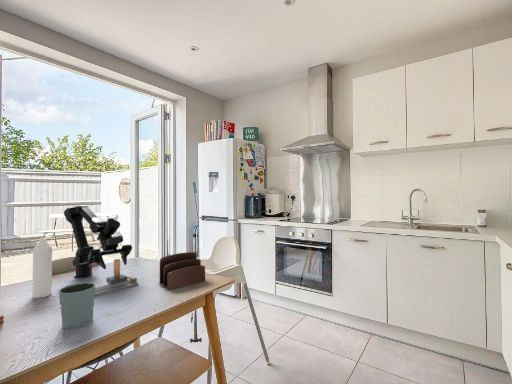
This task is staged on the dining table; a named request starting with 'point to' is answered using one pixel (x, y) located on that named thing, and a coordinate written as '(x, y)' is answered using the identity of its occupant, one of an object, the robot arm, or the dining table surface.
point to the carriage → (116, 274)
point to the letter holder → (181, 270)
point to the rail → (115, 286)
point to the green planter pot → (77, 305)
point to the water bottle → (42, 269)
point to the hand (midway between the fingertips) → (115, 266)
